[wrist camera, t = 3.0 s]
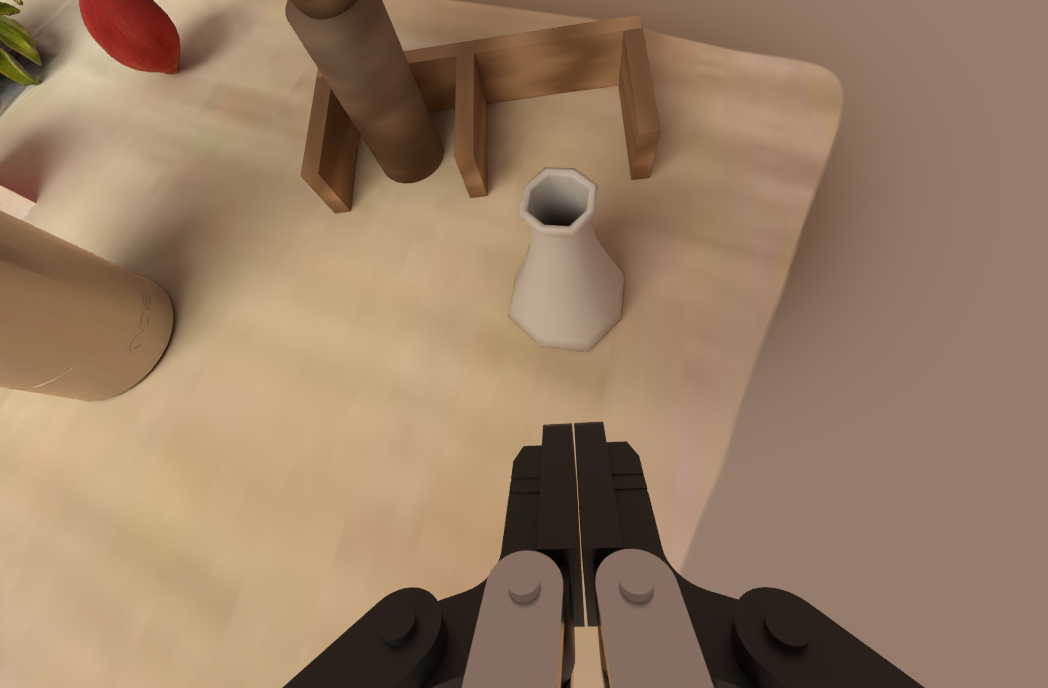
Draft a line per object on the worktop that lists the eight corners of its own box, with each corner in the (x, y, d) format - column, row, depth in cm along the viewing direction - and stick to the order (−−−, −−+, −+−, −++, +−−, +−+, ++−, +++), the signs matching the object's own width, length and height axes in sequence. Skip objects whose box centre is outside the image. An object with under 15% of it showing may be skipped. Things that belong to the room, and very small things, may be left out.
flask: (490, 325, 27) (439, 239, 17) (541, 233, 28) (520, 109, 19) (595, 373, 25) (603, 307, 15) (643, 272, 26) (678, 155, 17)
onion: (135, 74, 39) (28, -23, 31) (186, 38, 40) (93, -66, 32) (161, 105, 37) (54, 9, 30) (214, 66, 38) (123, -37, 30)
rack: (335, 213, 31) (300, 175, 27) (347, 110, 34) (318, 64, 30) (649, 177, 28) (660, 130, 25) (633, 70, 31) (640, 14, 28)
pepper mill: (379, 186, 31) (234, -25, 18) (384, 135, 33) (253, -94, 20) (442, 179, 31) (339, -45, 18) (444, 127, 32) (350, -114, 19)
